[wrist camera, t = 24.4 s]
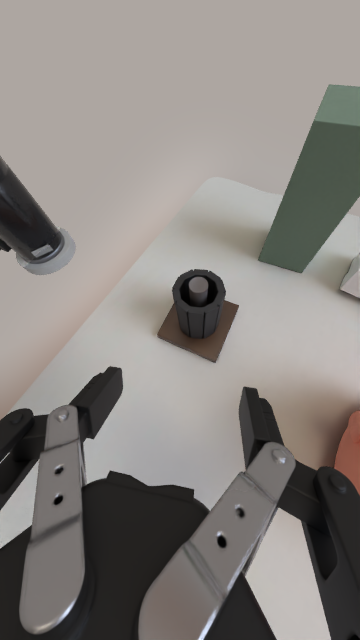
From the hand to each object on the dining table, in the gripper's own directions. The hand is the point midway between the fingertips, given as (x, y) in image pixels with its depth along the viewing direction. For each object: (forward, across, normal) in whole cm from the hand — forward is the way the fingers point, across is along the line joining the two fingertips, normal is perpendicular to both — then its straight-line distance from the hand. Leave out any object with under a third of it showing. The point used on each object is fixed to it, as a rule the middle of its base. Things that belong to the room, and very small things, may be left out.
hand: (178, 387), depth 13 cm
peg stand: (+18, 0, +2) cm, 18 cm away
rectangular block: (+28, -13, -8) cm, 32 cm away
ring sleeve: (+17, 0, +2) cm, 17 cm away
